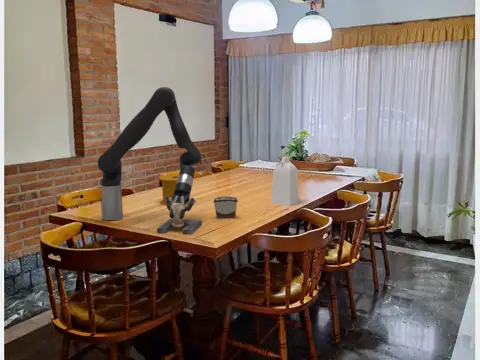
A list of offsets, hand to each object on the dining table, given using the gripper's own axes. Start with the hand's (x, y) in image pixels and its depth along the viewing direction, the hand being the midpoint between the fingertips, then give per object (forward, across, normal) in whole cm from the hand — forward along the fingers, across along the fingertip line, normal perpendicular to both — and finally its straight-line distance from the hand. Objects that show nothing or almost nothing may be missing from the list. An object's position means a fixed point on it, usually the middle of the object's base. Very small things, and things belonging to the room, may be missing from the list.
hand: (176, 217), depth 198 cm
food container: (-15, +16, +24) cm, 33 cm away
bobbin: (+2, 0, +4) cm, 5 cm away
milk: (-40, +42, +50) cm, 76 cm away
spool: (-34, -20, +44) cm, 59 cm away
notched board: (+1, 0, +8) cm, 8 cm away
